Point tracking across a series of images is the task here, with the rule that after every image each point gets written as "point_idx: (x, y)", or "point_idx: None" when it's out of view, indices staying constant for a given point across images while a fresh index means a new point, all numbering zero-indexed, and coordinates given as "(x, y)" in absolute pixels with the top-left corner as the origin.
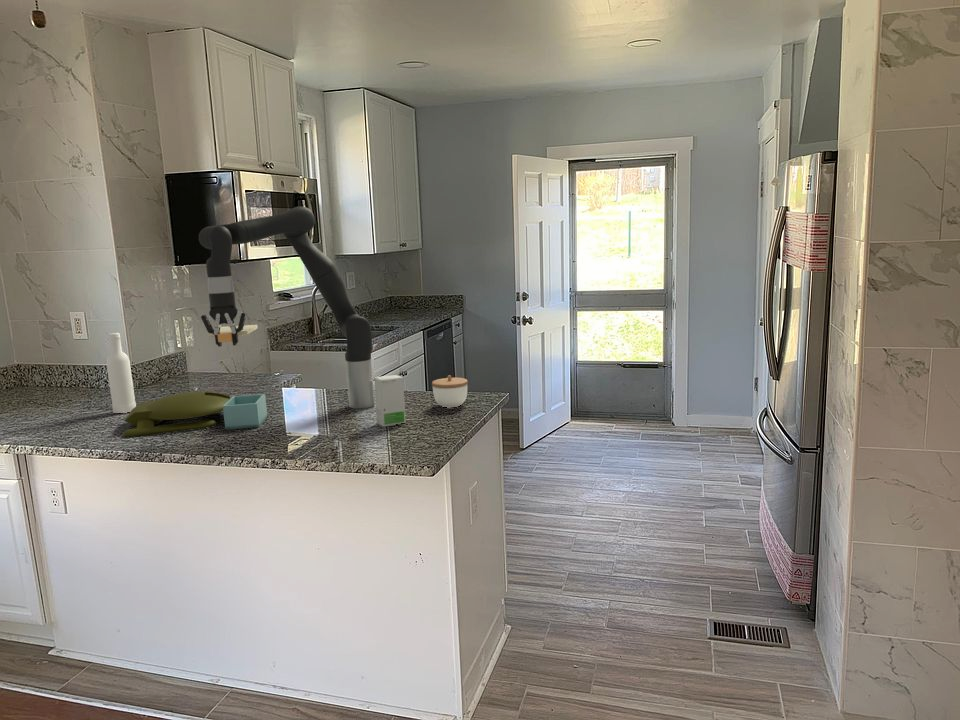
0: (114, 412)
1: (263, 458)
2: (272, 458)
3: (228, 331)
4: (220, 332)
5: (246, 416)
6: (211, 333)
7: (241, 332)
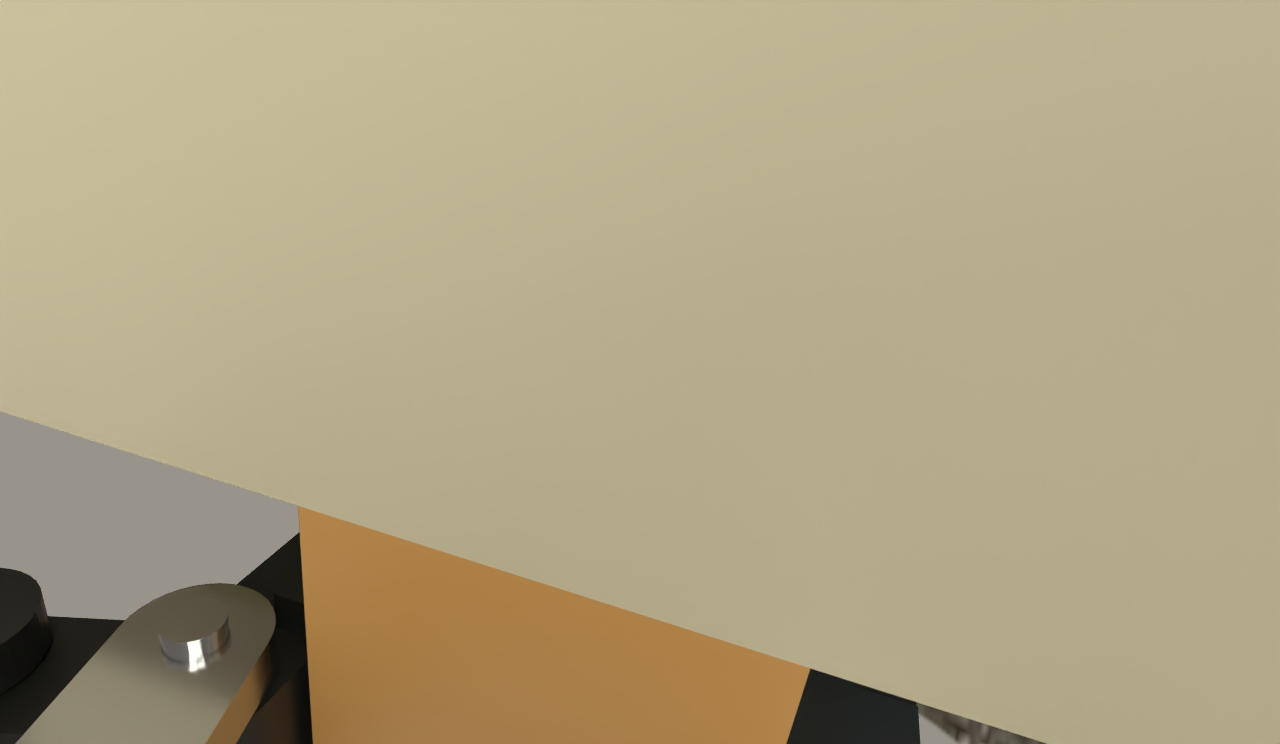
0: None
1: (920, 709)
2: (962, 731)
3: (532, 393)
4: (264, 486)
5: None
6: (3, 396)
7: (1138, 733)
